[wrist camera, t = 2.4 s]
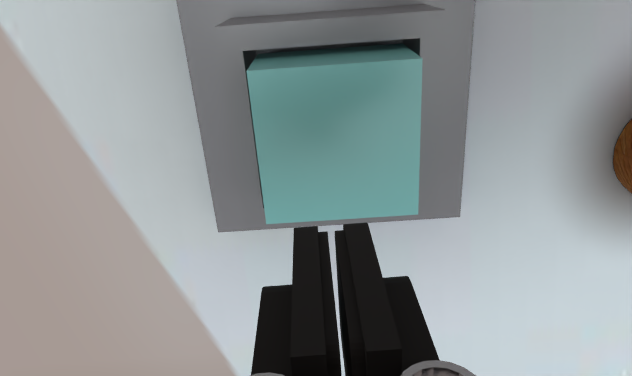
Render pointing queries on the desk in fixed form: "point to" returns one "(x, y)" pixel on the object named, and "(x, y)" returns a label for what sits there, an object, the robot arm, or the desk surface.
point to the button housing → (312, 34)
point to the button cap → (337, 132)
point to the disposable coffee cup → (624, 157)
